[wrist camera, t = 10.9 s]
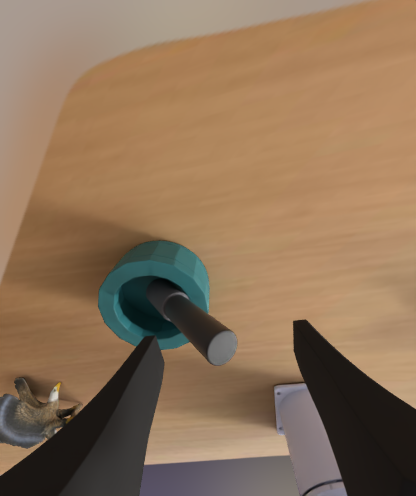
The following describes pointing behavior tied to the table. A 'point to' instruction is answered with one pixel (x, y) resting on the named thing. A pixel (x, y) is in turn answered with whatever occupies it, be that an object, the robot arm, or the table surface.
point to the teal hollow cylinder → (134, 291)
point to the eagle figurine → (31, 416)
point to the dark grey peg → (193, 322)
